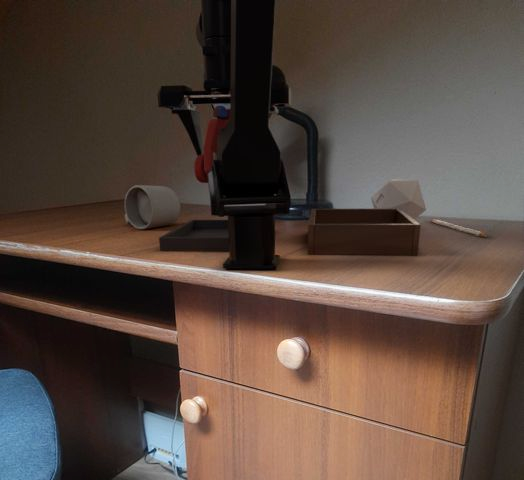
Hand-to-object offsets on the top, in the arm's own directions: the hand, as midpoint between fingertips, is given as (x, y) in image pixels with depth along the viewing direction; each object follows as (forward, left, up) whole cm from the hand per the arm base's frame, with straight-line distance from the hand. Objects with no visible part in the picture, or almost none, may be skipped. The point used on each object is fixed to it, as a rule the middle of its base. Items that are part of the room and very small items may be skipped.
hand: (228, 161), depth 74 cm
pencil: (+12, -38, -12) cm, 42 cm away
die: (+15, -28, -12) cm, 34 cm away
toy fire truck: (0, 0, -3) cm, 3 cm away
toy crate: (-2, -20, -12) cm, 23 cm away
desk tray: (0, +2, -12) cm, 12 cm away
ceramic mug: (+14, +18, -12) cm, 26 cm away
